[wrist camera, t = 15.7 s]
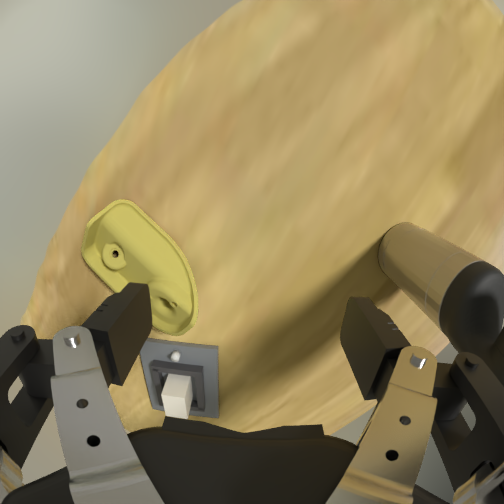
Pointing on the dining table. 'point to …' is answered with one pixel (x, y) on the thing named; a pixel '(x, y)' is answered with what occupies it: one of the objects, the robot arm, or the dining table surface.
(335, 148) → the dining table surface
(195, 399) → the housing plate
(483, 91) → the dining table surface
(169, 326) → the plastic component
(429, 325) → the dining table surface
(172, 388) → the block
